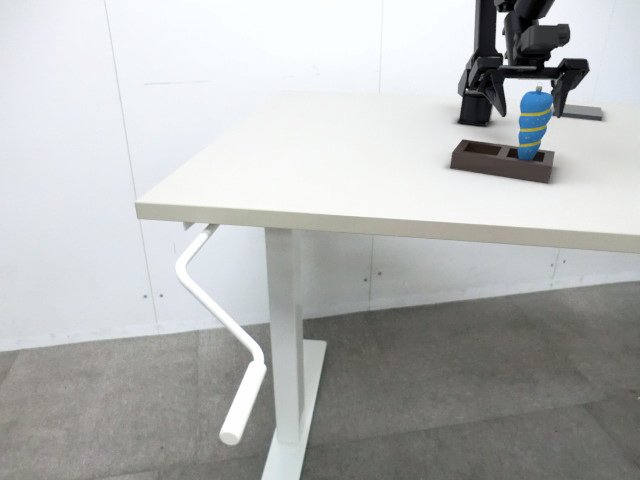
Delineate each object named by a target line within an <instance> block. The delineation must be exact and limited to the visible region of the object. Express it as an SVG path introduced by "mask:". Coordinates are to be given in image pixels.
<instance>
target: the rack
mask: <svg viewBox="0 0 640 480" xmlns="http://www.w3.org/2000/svg"><path fill="white" fill-rule="evenodd" d="M518 147H519V146H516V145H508V144H502V143H495V142H487V141H479V140H472V139H471V140H470V139H465V138H464V139H463V138H462V139H461V140H460V142H459V143H458V144H457V146H455V148H454V149H453V151H451V159H450V166H449V168H450V169H454V170H460V171H467V172H474V173H480V174H486V175H491V176H492V175H493V176H498V177H505V178H510V179H519V180H524V181H531V182H537V183H544V184H548V183H549V182H550V177H551V174H552V173H551V172H552V169H553V164H554V159H555V152H556V151H554V150H548V149H547V150H546V149H540V148H539V150H538V151H537V153H536V155H535V156H534V158H533V159H532V161H531V160H524V159H519V157H518Z"/></svg>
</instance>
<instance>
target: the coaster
mask: <svg viewBox="0 0 640 480" xmlns="http://www.w3.org/2000/svg"><path fill="white" fill-rule="evenodd" d="M552 116H555V117H556V114H555V111H554V109H552ZM561 118H573V119H582V120H589V121H590V120H591V121H600V122H601V121H602V119H603V112H602V107H599V106H589V105H580V104H579V105H577V104H567V103H565V107H564V110H563V114H562V116H561Z"/></svg>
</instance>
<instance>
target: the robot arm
mask: <svg viewBox="0 0 640 480" xmlns="http://www.w3.org/2000/svg"><path fill="white" fill-rule="evenodd" d="M555 2H556V0H475V5H474V6H475V7H474V30H473V31H474V33H473V51H472V52H473V53H472V54H471V56H470V58H468V60H467V62H466V64H465V68H464V70H463V72H462V75H461V77H460V79H459V81H458V83H457V94H458V95H459V96H460V97H461V105H460V110H459V111H460V112H459V118H458V119H457V122H456V123H458V124H462V125H463V124H465V125H473V126H481V127H486V126H487V125H488V124H489V123H490V122H491V120H492V116H493V112H494V111H493V110H494V108H495V110H496V111H497V113H498V114H499V115H500V116H501V118H505V117H506V116H507V114H508V112H507V111H508V110H507V109H508V107H507V101H506V95H505V93H506V92H505V89H504V83H505V80H506V79H511V80H512V79H514V80H518V81H519V80H521V81H527V80H528V81H550V87H551V88H552V89H551V91H550V94H551V95H552V96H553V103H552V105H553V110H554V111H555V114H556V116H555V117H556V118H557V119H561V118H562V114H563V110H564V107H565V104H567V99H568V95H569V93H570V92H571V91H573V90H575V89H577V87H578V86H579V85H580V84H581V82H582V81H583V80H584V79H585V78H586V77H587V75H588V74H589V73H590V72H591V69H590V68H591V67H590V61H588V59H587V58H583V57H563V58H562V59H561V61H560V62H559V64H558V65H557V66H546V65H545V63H546V62H549V61H550V60H551V58H552V51H554V50H555V49H559V48H563V47H564V46H566V45H567V44H569V43H570V40H571V28H570V24H569V23H557V24H540V21H539V20H541V19H544V18H546V17H547V15H548V14H549V12H550V11H551V8H552V7H553V5H554V3H555ZM498 14H506V15H505V17H504V18H503V28H502V30H501V35H502V36H504V39H505V47H506V48H505V49H506V50H505V52H504V54H503V52H499V51H498V49H497V48H496V47H497V45H496V44H497V22H498V21H497V19H498ZM504 60H507V64H504Z"/></svg>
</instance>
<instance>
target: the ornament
mask: <svg viewBox="0 0 640 480" xmlns="http://www.w3.org/2000/svg"><path fill="white" fill-rule="evenodd" d="M539 83H541V84H542V81H539V82H538V83H537V86H536V87H535V90H533V91H532V90H531V91H530V90H529V91H527V92H525V93H524V95H523V96H522V97H521V100H520V103H519V110H520V115H519V118H518V125H519V129H520V130H519V131H518V146H517V147H518V157H519V159H524V160H531V161H532V159H533V158H534V156H535V155H536V153H537V151H538V150H539V149H540V147H541V145H542V140H543V138H544V136H545V135H546V133H547V130H548V123H549V121H551V119H552V116H553V109H552V108H551V107H552V105H553V96H552V95H551V93H549V92H546V91H543V86H542V85H540V86H539V85H538V84H539Z"/></svg>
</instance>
